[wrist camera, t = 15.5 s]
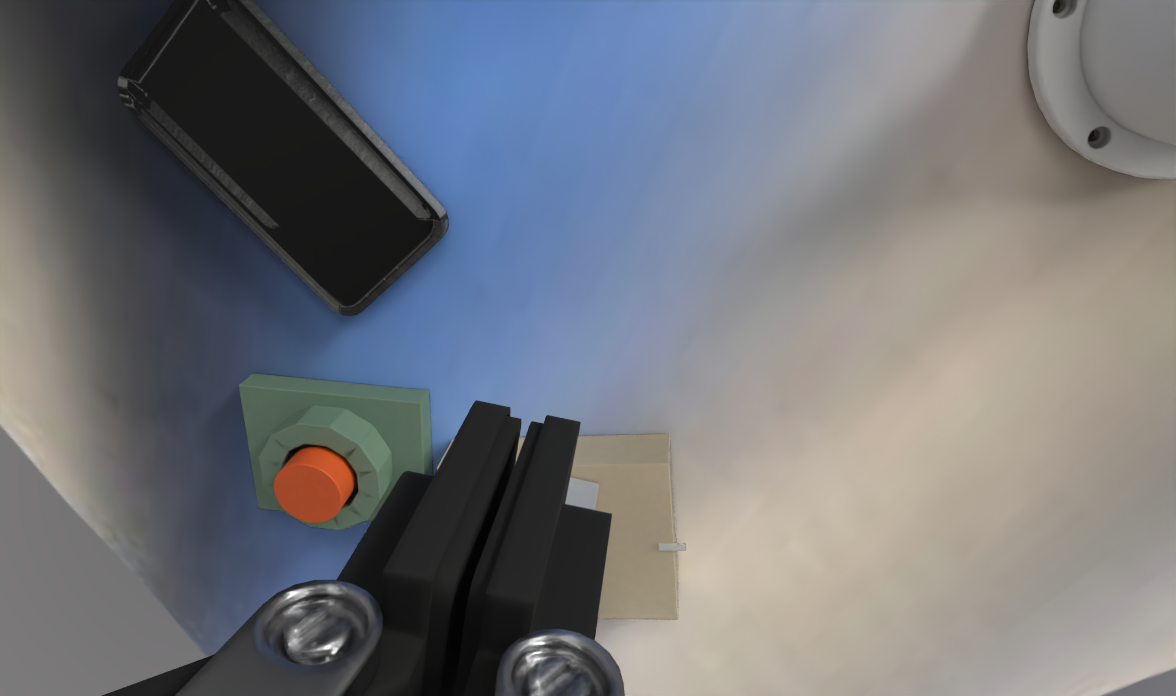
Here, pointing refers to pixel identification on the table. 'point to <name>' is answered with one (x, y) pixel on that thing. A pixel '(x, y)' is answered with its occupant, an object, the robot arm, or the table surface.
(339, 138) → the phone
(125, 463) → the table surface
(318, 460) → the button
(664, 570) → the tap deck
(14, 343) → the table surface
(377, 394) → the button box
